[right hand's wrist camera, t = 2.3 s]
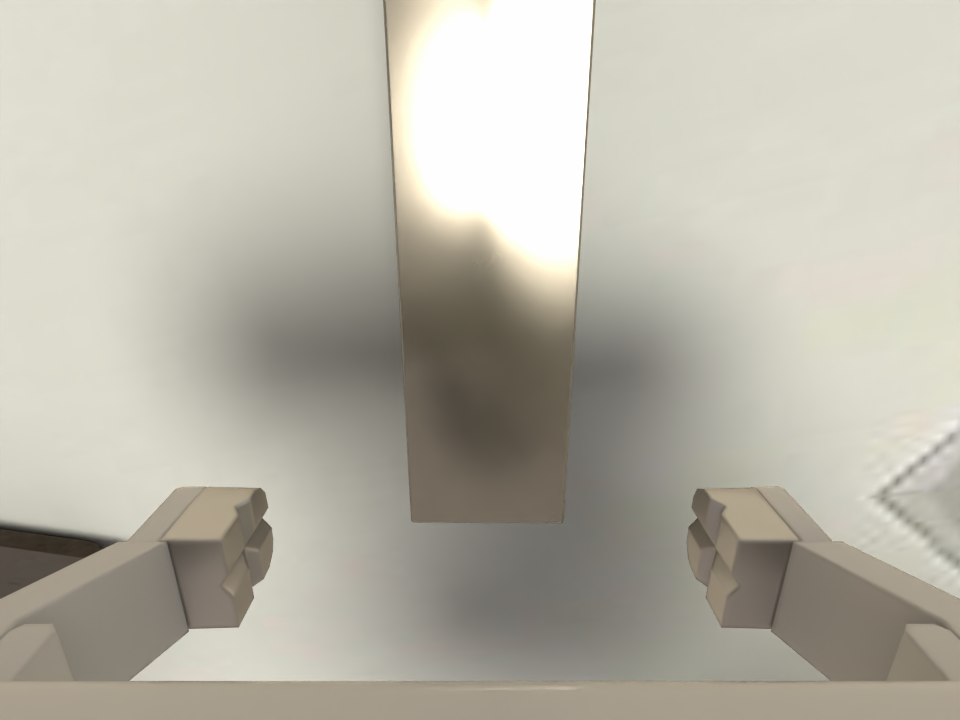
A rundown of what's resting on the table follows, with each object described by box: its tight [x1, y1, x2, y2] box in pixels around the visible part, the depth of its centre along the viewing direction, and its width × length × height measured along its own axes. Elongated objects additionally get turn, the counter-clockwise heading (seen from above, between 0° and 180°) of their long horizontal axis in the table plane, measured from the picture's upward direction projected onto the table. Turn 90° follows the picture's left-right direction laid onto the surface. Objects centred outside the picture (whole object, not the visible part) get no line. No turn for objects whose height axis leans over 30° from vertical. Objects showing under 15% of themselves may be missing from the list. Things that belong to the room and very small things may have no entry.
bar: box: [383, 0, 596, 523], centre depth 16 cm, size 23×4×9 cm, turn 0°
